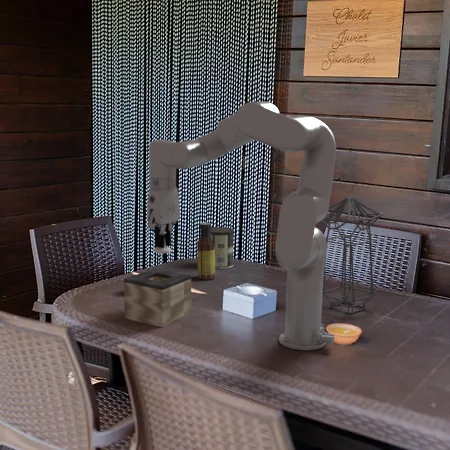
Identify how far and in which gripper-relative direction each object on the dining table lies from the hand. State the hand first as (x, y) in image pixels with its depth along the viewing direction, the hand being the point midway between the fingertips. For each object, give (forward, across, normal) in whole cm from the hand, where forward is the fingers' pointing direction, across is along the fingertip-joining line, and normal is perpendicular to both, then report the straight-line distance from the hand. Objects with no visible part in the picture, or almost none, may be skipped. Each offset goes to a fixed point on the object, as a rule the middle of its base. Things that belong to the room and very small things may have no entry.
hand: (162, 245), depth 200 cm
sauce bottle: (+22, +41, +12) cm, 48 cm away
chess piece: (+2, 0, 0) cm, 2 cm away
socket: (+21, -1, +1) cm, 22 cm away
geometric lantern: (+21, +38, -42) cm, 61 cm away
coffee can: (+22, +58, +18) cm, 64 cm away
